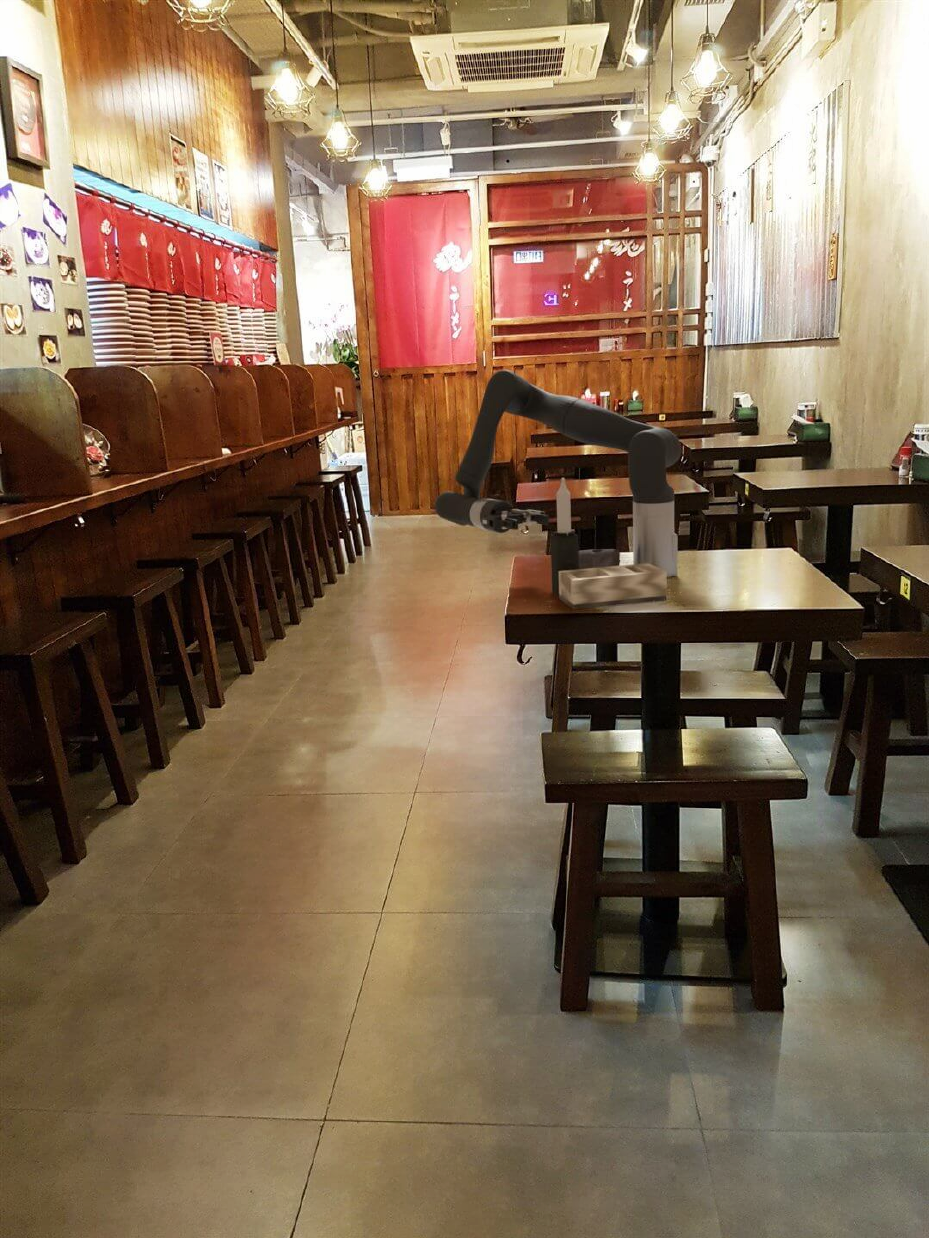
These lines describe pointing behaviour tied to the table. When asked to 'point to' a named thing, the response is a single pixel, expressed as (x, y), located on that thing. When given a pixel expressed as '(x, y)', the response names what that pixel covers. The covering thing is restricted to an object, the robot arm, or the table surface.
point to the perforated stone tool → (598, 558)
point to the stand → (612, 585)
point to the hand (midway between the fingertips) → (532, 522)
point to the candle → (563, 539)
